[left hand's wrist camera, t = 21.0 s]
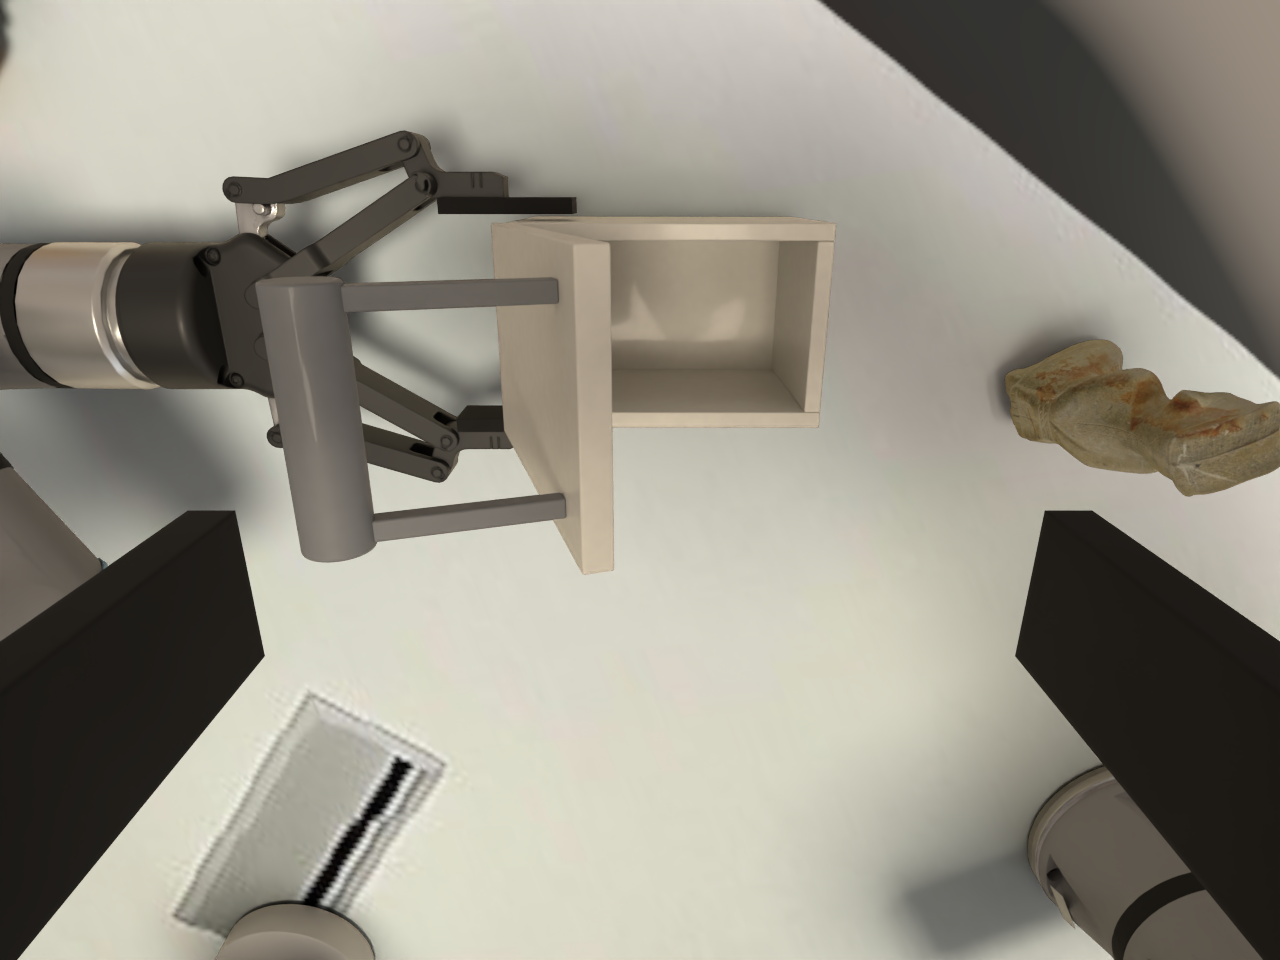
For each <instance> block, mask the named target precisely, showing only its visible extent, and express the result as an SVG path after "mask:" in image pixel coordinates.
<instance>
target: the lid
mask: <svg viewBox="0 0 1280 960" xmlns="http://www.w3.org/2000/svg"><path fill="white" fill-rule="evenodd" d="M491 231H492V247H493V262H494V278H495V279H475V280H443V281H410V282H377V283H344V284H343V281H342V279H340V278H336V277H323V276H304V277H283V278H272V279H265V280H261V281H258V282H256V285H255V287H256V293H257V298H258V304H259V310H260V316H261V322H262V327H263V333H264V339H265V345H266V351H267V356H268V362H269V368H270V374H271V379H272V385H273V391H274V397H275V403H276V408H277V414H278V420H279V426H280V432H281V437H282V443H283V449H284V455H285V461H286V466H287V472H288V478H289V484H290V489H291V495H292V501H293V507H294V513H295V518H296V524H297V530H298V536H299V542H300V547H301V552H302V554H303V556H304V557H305V558H307V559H309V560H312V561H316V562H339V561H345V560H350V559H353V558H357V557H359V556H362V555H364V554H366V553H368V552H369V551H371V550H372V549H373V548H374V547H375V546H376V544H377V542H380V541H388V540H396V539H404V538H412V537H420V536H428V535H436V534H444V533H452V532H460V531H468V530H476V529H484V528H492V527H500V526H508V525H516V524H524V523H532V522H540V521H548V520H553V521H554V523H555V525H556V526H557V528H558V530H559V532H560V534H561V536H562V537H563V539H564V541H565V543H566V545H567V547H568V548H569V550H570V552H571V554H572V556H573V558H574V559H575V561H576V563H577V565H578V567H579V569H580V570H581V572H582V574H584V575H585V574H592V573H599V572H605V571H612V570H614V520H613V436H612V351H611V266H610V244H609V243H607V242H602V241H597V240H593V239H588V238H583V237H578V236H573V235H568V234H563V233H559V232H554V231H549V230H544V229H539V228H534V227H529V226H525V225H520V224H515V223H492V224H491ZM492 306H496V309H497V325H498V340H499V356H500V371H501V387H502V403H503V418H504V431H505V433H506V435H507V437H508V438H509V440H510V442H511V444H512V446H513V448H514V449H515V451H516V453H517V455H518V457H519V459H520V460H521V462H522V464H523V466H524V468H525V470H526V471H527V473H528V475H529V477H530V479H531V481H532V482H533V484H534V486H535V488H536V490H537V492H538V493H539V495H533V496H525V497H516V498H507V499H498V500H490V501H481V502H472V503H464V504H455V505H446V506H437V507H429V508H420V509H411V510H403V511H394V512H385V513H377V514H374V511H373V503H372V496H371V488H370V481H369V473H368V466H367V458H366V451H365V443H364V435H363V428H362V420H361V413H360V405H359V398H358V390H357V383H356V375H355V368H354V360H353V353H352V345H351V337H350V330H349V322H348V315H347V312H370V311H394V310H419V309H443V308H468V307H492Z"/></svg>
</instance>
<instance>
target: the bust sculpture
mask: <svg viewBox="0 0 1280 960" xmlns="http://www.w3.org/2000/svg"><path fill="white" fill-rule="evenodd" d="M215 960H374V956H373V952H372V950H371V947H370V945H369V943H368V942H367V940H366V939H365V937H364V936H363V935H362V934H361V933H360V932H359V931H358V930H357V929H356V928H355V927H354V926H353V925H351V924H350V923H349V922H347V921H346V920H344V919H343V918H341V917H339V916H337V915H335V914H333V913H331V912H328V911H325V910H323V909H319V908H316V907H311V906H306V905H298V904H280V905H273V906H268V907H264V908H261V909H258V910H255V911H253V912H251V913H249V914H247V915H246V916H244V917H243V918H242V919H240V920H239V921H238V922H237V923H236V924H235V926H234V927H233V928H232V930H231V931H230V933H229V935H228V937H227V939H226V940H225V942H224V944H223V946H222V948H221V949H220V951H219V953H218V955H217V957H216V958H215Z"/></svg>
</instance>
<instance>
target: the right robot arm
mask: <svg viewBox="0 0 1280 960" xmlns="http://www.w3.org/2000/svg"><path fill="white" fill-rule="evenodd" d="M402 167H405V170H406V172H407V174H408V177H409V178H408V179H406V180H405V181H404V182H402V183H401V184H399V185H398V186H396V187H395V188H394V189H392V190H391V191H389V192H388V193H386V194H385V195H384V196H382V197H381V198H379V199H378V200H376V201H375V202H373V203H372V204H371V205H369V206H368V207H366V208H365V209H363V210H362V211H361V212H359V213H358V214H356V215H355V216H353V217H352V218H351V219H349V220H348V221H346V222H345V223H343V224H342V225H340V226H339V227H338V228H336V229H335V230H333V231H332V232H330V233H329V234H328V235H326V236H325V237H323V238H322V239H320V240H319V241H317V242H316V243H314V244H312V245H310V246H308V247H306V248H304V249H303V250H301V251H300V252H298V253H295V252H294V251H292V250H291V249H289V248H288V247H286V246H285V245H283V244H282V243H281V242H279V241H278V240H276V239H275V238H273V237H272V236H270V235H268V234H267V228H268V226H269V224H270V223H271V222H273V221H276V220H280V219H281V218H283V216H284V215H285V204H293V203H300V202H304V201H308V200H311V199H314V198H317V197H319V196H322V195H325V194H328V193H331V192H334V191H337V190H339V189H342V188H345V187H348V186H351V185H354V184H356V183H359V182H362V181H365V180H368V179H371V178H373V177H376V176H379V175H382V174H385V173H388V172H390V171H393V170H396V169H399V168H402ZM223 192H224V195H225V196H226V198H227V199H228V200H230V201H231V202H234V203H235V205H236V212H237V220H238V227H239V234H238V235H236V236H235V237H233V238H232V239H230V240H228V241H226V242H150V243H146V244H143V245H139V244H137V243H134V242H54V243H39V244H7V243H0V390H2V389H31V388H97V389H154V388H158V387H164V388H168V389H248V390H251V391H254V392H257V393H259V394H261V395H263V396H265V397H268V400H269V405H270V409H271V414H272V418H273V423H274V426H273V427H272V428H271V429H269V430H268V432H267V439H268V441H269V443H270V444H271V445H272V446H274V447H277V448H283V443H282V437H281V432H280V426H279V420H278V414H277V408H276V403H275V397H274V391H273V385H272V379H271V374H270V368H269V362H268V356H267V351H266V345H265V339H264V333H263V327H262V322H261V316H260V310H259V304H258V298H257V293H256V287H255V285H256V282H258V281H261V280H265V279H272V278H283V277H304V276H323V277H327V276H329V275H330V274H332V273H333V272H335V271H336V270H338V269H339V268H341V267H342V266H344V265H345V264H346V263H347V262H348V261H349V260H350V259H352V258H353V257H354V256H356V255H357V254H359V253H360V252H362V251H363V250H365V249H366V248H368V247H369V246H371V245H372V244H373V243H375V242H376V241H378V240H379V239H381V238H382V237H384V236H385V235H387V234H388V233H390V232H391V231H392V230H394V229H395V228H397V227H398V226H400V225H401V224H403V223H404V222H406V221H407V220H409V219H410V218H411V217H413V216H414V215H416V214H417V213H419V212H420V211H422V210H423V209H425V208H426V207H427V206H429V205H430V204H432V203H433V202H435V201H436V200H437V205H438V214H574V213H577V206H576V197H509V193H508V177H506V176H504V175H501V174H499V173H496V172H445V171H443V170H442V169H440V168H439V167H438V165H437V164H436V162H435V160H434V157H433V155H432V153H431V146H430V143H429V141H428V139H427V138H425V137H424V136H422V135H419V134H416V133H412V132H408V131H399V132H396V133H393V134H391V135H388V136H385V137H382V138H379V139H377V140H374V141H371V142H368V143H365V144H363V145H360V146H357V147H354V148H351V149H349V150H346V151H343V152H340V153H337V154H335V155H332V156H329V157H326V158H323V159H321V160H318V161H315V162H312V163H309V164H307V165H304V166H301V167H298V168H295V169H293V170H290V171H287V172H284V173H281V174H279V175H276V176H273V177H270V178H254V177H228V178H227V179H226V180H225V181H224V183H223ZM353 360H354V368H355V375H356V383H357V390H358V398H359V405H360V406H361V407H363V408H365V409H367V410H369V411H371V412H372V413H374V414H376V415H378V416H380V417H382V418H383V419H385V420H387V421H389V422H391V423H393V424H394V425H396V426H398V427H400V428H402V429H404V430H405V431H407V432H409V433H411V434H413V435H415V436H416V437H418V438H420V439H422V440H424V441H421V440H418V439H415V438H411V437H408V436H404V435H401V434H397V433H394V432H391V431H387V430H384V429H380V428H377V427H373V426H370V425H366V424H363V423H362V428H363V435H364V443H365V451H366V458H367V463H370V464H373V465H377V466H380V467H384V468H387V469H391V470H394V471H398V472H401V473H405V474H408V475H412V476H415V477H419V478H422V479H426V480H429V481H433V482H438V483H440V482H443V481H445V480H446V479H447V478H448V476H449V475H450V473H451V472H452V470H453V469H454V467H455V466H456V464H457V462H458V456H459V452H460V451H461V450H464V449H511V448H513V446H512V444H511V442H510V440H509V438H508V437H507V435H506V433H505V431H504V418H503V406H466V407H465V409H464V410H463V411H462V412H461V414H460V415H459V416H458V417H455V416H454V415H452V414H450V413H448V412H446V411H445V410H443V409H441V408H439V407H437V406H436V405H434V404H432V403H430V402H428V401H427V400H425V399H423V398H421V397H419V396H418V395H416V394H414V393H412V392H410V391H409V390H407V389H405V388H403V387H401V386H400V385H398V384H396V383H394V382H392V381H391V380H389V379H387V378H385V377H383V376H382V375H380V374H378V373H376V372H374V371H373V370H371V369H369V368H367V367H366V366H364V365H362V364H361V362H360V361H359V360H358V359H357V358H356V357H354V356H353ZM425 441H426V442H425ZM106 567H108V565H107V563H106V562H104V561H103V560H101V559H100V558H96V557H95V555H94V554H93V553H92V552H91V551H90V550H89V549H88V548H87V547H86V546H85V545H84V544H83V543H82V542H81V541H80V540H79V538H78V537H77V536H76V535H75V534H74V533H73V532H72V531H71V530H70V529H69V528H68V527H67V526H66V525H65V524H64V523H63V521H62V520H61V519H60V518H59V517H58V516H57V515H56V514H55V513H54V512H53V511H52V510H51V509H50V508H49V507H48V506H47V505H46V503H45V502H44V501H43V500H42V499H41V498H40V497H39V496H38V495H37V494H36V493H35V492H34V491H33V490H32V489H31V488H30V486H29V485H28V484H27V483H26V482H25V481H24V480H23V479H22V478H21V477H20V476H19V475H18V474H17V473H16V472H15V471H14V469H13V466H12V465H11V464H10V463H9V462H8V461H7V460H6V458H5V457H4V456H3V454H2V453H1V452H0V641H1V640H3V639H4V638H6V637H7V636H9V635H10V634H12V633H13V632H14V631H16V630H17V629H19V628H20V627H22V626H23V625H24V624H26V623H27V622H29V621H30V620H32V619H33V618H35V617H36V616H37V615H39V614H40V613H42V612H43V611H45V610H46V609H47V608H49V607H50V606H52V605H53V604H55V603H56V602H57V601H59V600H60V599H62V598H63V597H65V596H66V595H68V594H69V593H70V592H72V591H73V590H75V589H76V588H78V587H79V586H80V585H82V584H83V583H85V582H86V581H88V580H89V579H91V578H92V577H93V576H95V575H96V574H98V573H99V572H101V571H102V570H103V569H105V568H106Z"/></svg>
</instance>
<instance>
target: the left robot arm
mask: <svg viewBox="0 0 1280 960" xmlns="http://www.w3.org/2000/svg"><path fill="white" fill-rule="evenodd" d="M264 656H265V655H264V650H263V645H262V640H261V635H260V630H259V625H258V621H257V616H256V611H255V606H254V601H253V596H252V591H251V586H250V581H249V576H248V571H247V567H246V562H245V557H244V552H243V547H242V542H241V537H240V532H239V527H238V522H237V517H236V512H235V511H187V512H185V513H184V514H182V515H181V516H180V517H178V518H177V519H175V520H174V521H172V522H171V523H169V524H168V525H167V526H165V527H164V528H162V529H161V530H159V531H158V532H157V533H155V534H154V535H152V536H151V537H149V538H148V539H146V540H145V541H144V542H142V543H141V544H139V545H138V546H136V547H135V548H134V549H132V550H131V551H129V552H128V553H126V554H125V555H124V556H122V557H121V558H119V559H118V560H116V561H115V562H113V563H112V564H111V565H109V566H108V567H106V568H105V569H103V570H102V571H101V572H99V573H98V574H96V575H95V576H93V577H92V578H91V579H89V580H88V581H86V582H85V583H83V584H82V585H80V586H79V587H78V588H76V589H75V590H73V591H72V592H70V593H69V594H68V595H66V596H65V597H63V598H62V599H60V600H59V601H57V602H56V603H55V604H53V605H52V606H50V607H49V608H47V609H46V610H45V611H43V612H42V613H40V614H39V615H37V616H36V617H35V618H33V619H32V620H30V621H29V622H27V623H26V624H24V625H23V626H22V627H20V628H19V629H17V630H16V631H14V632H13V633H12V634H10V635H9V636H7V637H6V638H4V639H3V640H1V641H0V960H17V959H18V958H19V957H20V956H21V954H22V953H23V952H24V951H25V949H26V948H27V947H28V946H29V945H30V943H31V942H32V941H33V940H34V938H35V937H36V936H37V935H38V934H39V932H40V931H41V930H42V929H43V927H44V926H45V925H46V924H47V922H48V921H49V920H50V919H51V918H52V916H53V915H54V914H55V913H56V911H57V910H58V909H59V908H60V907H61V905H62V904H63V903H64V902H65V900H66V899H67V898H68V897H69V895H70V894H71V893H72V892H73V891H74V889H75V888H76V887H77V886H78V884H79V883H80V882H81V881H82V880H83V878H84V877H85V876H86V875H87V873H88V872H89V871H90V870H91V869H92V867H93V866H94V865H95V864H96V862H97V861H98V860H99V859H100V857H101V856H102V855H103V854H104V853H105V851H106V850H107V849H108V848H109V846H110V845H111V844H112V843H113V842H114V840H115V839H116V838H117V837H118V835H119V834H120V833H121V832H122V830H123V829H124V828H125V827H126V826H127V824H128V823H129V822H130V821H131V819H132V818H133V817H134V816H135V815H136V813H137V812H138V811H139V810H140V808H141V807H142V806H143V805H144V804H145V802H146V801H147V800H148V799H149V797H150V796H151V795H152V794H153V792H154V791H155V790H156V789H157V788H158V786H159V785H160V784H161V783H162V781H163V780H164V779H165V778H166V777H167V775H168V774H169V773H170V772H171V770H172V769H173V768H174V767H175V765H176V764H177V763H178V762H179V761H180V759H181V758H182V757H183V756H184V754H185V753H186V752H187V751H188V750H189V748H190V747H191V746H192V745H193V743H194V742H195V741H196V740H197V739H198V737H199V736H200V735H201V734H202V732H203V731H204V730H205V729H206V727H207V726H208V725H209V724H210V723H211V721H212V720H213V719H214V718H215V716H216V715H217V714H218V713H219V712H220V710H221V709H222V708H223V707H224V705H225V704H226V703H227V702H228V700H229V699H230V698H231V697H232V696H233V694H234V693H235V692H236V691H237V689H238V688H239V687H240V686H241V685H242V683H243V682H244V681H245V680H246V678H247V677H248V676H249V675H250V673H251V672H252V671H253V670H254V669H255V667H256V666H257V665H258V664H259V662H260V661H261V660H262V659H263V658H264ZM1015 656H1016V658H1017V659H1018V660H1019V661H1020V662H1021V664H1022V665H1023V666H1024V667H1025V669H1026V670H1027V671H1028V672H1029V673H1030V675H1031V676H1032V677H1033V678H1034V680H1035V681H1036V682H1037V683H1038V685H1039V686H1040V687H1041V688H1042V689H1043V691H1044V692H1045V693H1046V694H1047V696H1048V697H1049V698H1050V699H1051V700H1052V702H1053V703H1054V704H1055V705H1056V707H1057V708H1058V709H1059V710H1060V712H1061V713H1062V714H1063V715H1064V716H1065V718H1066V719H1067V720H1068V721H1069V723H1070V724H1071V725H1072V726H1073V727H1074V729H1075V730H1076V731H1077V732H1078V734H1079V735H1080V736H1081V737H1082V739H1083V740H1084V741H1085V742H1086V743H1087V745H1088V746H1089V747H1090V748H1091V750H1092V751H1093V752H1094V753H1095V754H1096V756H1097V757H1098V758H1099V759H1100V761H1101V762H1102V763H1103V764H1104V765H1105V766H1103V767H1101V768H1098V769H1095V770H1093V771H1091V772H1088V773H1086V774H1084V775H1082V776H1080V777H1078V778H1077V779H1075V780H1074V781H1072V782H1070V783H1069V784H1067V785H1066V786H1065V787H1063V788H1062V789H1061V790H1060V791H1058V792H1057V793H1056V794H1055V795H1054V796H1053V797H1052V798H1051V799H1050V800H1049V801H1048V802H1047V803H1046V805H1045V806H1044V807H1043V808H1042V810H1041V811H1040V813H1039V814H1038V816H1037V817H1036V819H1035V821H1034V823H1033V826H1032V828H1031V831H1030V834H1029V839H1028V859H1029V863H1030V866H1031V868H1032V871H1033V872H1034V874H1035V876H1036V878H1037V879H1038V881H1039V883H1040V884H1041V886H1042V888H1043V890H1044V891H1045V893H1046V895H1047V896H1048V897H1049V898H1050V900H1051V901H1052V902H1053V903H1054V904H1055V905H1056V906H1057V907H1058V908H1059V909H1060V911H1061V914H1062V916H1063V918H1064V919H1065V920H1066V921H1067V922H1068V923H1069V924H1070V925H1071V926H1072V927H1073V928H1075V927H1074V924H1073V921H1074V922H1075V923H1076V924H1077V925H1078V926H1079V927H1080V928H1081V929H1082V930H1084V931H1085V932H1086V933H1087V934H1088V935H1089V936H1090V937H1091V938H1092V939H1093V940H1095V941H1096V942H1097V943H1098V944H1099V945H1100V946H1101V947H1102V948H1103V949H1104V950H1106V951H1107V952H1108V953H1109V954H1110V955H1111V956H1112V957H1113V959H1114V960H1280V641H1279V640H1277V639H1276V638H1274V637H1273V636H1271V635H1270V634H1268V633H1267V632H1266V631H1264V630H1263V629H1261V628H1260V627H1258V626H1257V625H1256V624H1254V623H1253V622H1251V621H1250V620H1248V619H1247V618H1245V617H1244V616H1243V615H1241V614H1240V613H1238V612H1237V611H1235V610H1234V609H1233V608H1231V607H1230V606H1228V605H1227V604H1225V603H1224V602H1223V601H1221V600H1220V599H1218V598H1217V597H1215V596H1214V595H1212V594H1211V593H1210V592H1208V591H1207V590H1205V589H1204V588H1202V587H1201V586H1200V585H1198V584H1197V583H1195V582H1194V581H1192V580H1191V579H1189V578H1188V577H1187V576H1185V575H1184V574H1182V573H1181V572H1179V571H1178V570H1177V569H1175V568H1174V567H1172V566H1171V565H1169V564H1168V563H1167V562H1165V561H1164V560H1162V559H1161V558H1159V557H1158V556H1156V555H1155V554H1154V553H1152V552H1151V551H1149V550H1148V549H1146V548H1145V547H1144V546H1142V545H1141V544H1139V543H1138V542H1136V541H1135V540H1134V539H1132V538H1131V537H1129V536H1128V535H1126V534H1125V533H1123V532H1122V531H1121V530H1119V529H1118V528H1116V527H1115V526H1113V525H1112V524H1111V523H1109V522H1108V521H1106V520H1105V519H1103V518H1102V517H1100V516H1099V515H1098V514H1096V513H1095V512H1093V511H1045V512H1044V517H1043V522H1042V527H1041V532H1040V537H1039V542H1038V547H1037V552H1036V557H1035V562H1034V566H1033V571H1032V576H1031V581H1030V586H1029V591H1028V596H1027V601H1026V606H1025V611H1024V616H1023V621H1022V625H1021V630H1020V635H1019V640H1018V645H1017V650H1016V655H1015ZM1072 920H1073V921H1072Z"/></svg>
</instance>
